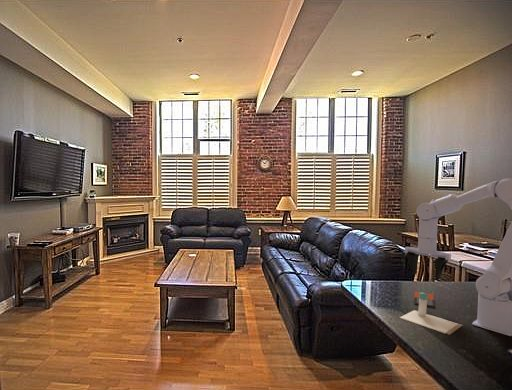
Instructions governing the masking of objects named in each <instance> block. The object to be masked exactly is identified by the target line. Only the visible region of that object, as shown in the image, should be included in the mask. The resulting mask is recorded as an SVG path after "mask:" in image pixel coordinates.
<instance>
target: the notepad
mask: <svg viewBox="0 0 512 390" xmlns="http://www.w3.org/2000/svg"><path fill="white" fill-rule="evenodd" d="M399 319H401V320H403V321H407V322H410V323H413V324H416V325H419V326H420V327H421V326H422V327H425V328H428V329H430V330H434V331H437V332H439V333H442V334H446V335H448V336H450V335H452V334H453V333H454V332H456V331H458V330H459V329H460V328H462V327H463V324H460V323H457V322H453V321H450V320H447V319H444V318H442V317H438V316H434V315H433V314H432V315H431V314H428V313H426V317H422V316H419V315H418V310H415V309H414V310H411V311H409V312H408V313H406V314H404V315H402V316H399Z"/></svg>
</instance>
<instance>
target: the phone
mask: <svg viewBox="0 0 512 390" xmlns="http://www.w3.org/2000/svg"><path fill="white" fill-rule="evenodd" d="M420 292H421V291H420ZM420 292H419V291H414V295H413V296H414V297H413V298H414V300H413V305H414V306H416V307H417V306H418V307H419V293H420ZM427 294H428V299H427V308H430V309H436V303H435V296H434V294H433V293H427Z"/></svg>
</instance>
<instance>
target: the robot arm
mask: <svg viewBox="0 0 512 390" xmlns="http://www.w3.org/2000/svg"><path fill="white" fill-rule="evenodd" d="M486 198H499V199H500V200H502V201H503V202H504V203H506V204H507V206H508V207H509V208H510V209H511V210H512V178H511V177H507V178H503V179H501V180H496V181H492V182H490V183H486V184H484V185H481V186H478V187H476V188H474V189H471V190H469V191H467V192H464V193H461V194H460V195H459V194H458V195H457V194H454V193H451V194H450V193H444V194H443V197H440V198H437V199H431V200H430V202H422V203H421V204H419V205H418V206H417V207H416V210H415V212H416V216H417V217H418V218H419V219H418V220H419V221H418V234H417V235H418V236H417V238H418V239H417V240H418V241H417V247H412V246H405V247H404V253H406V255H405V256H406V259H407V261H408V263H409V265H410V270H411V274H412V275H417V274H418V264H419V263H418V261H419V257H420V256H425V257H431V258H434V264H435V265H434V266H435V267H434V268H435V272H434V279H435V280H436V281H439V280H440V279H441V277H442V276H441V275H442V272H443V270H444V269H445V266H446V265H447V263H448V262H449V261H450V260H451V259H452V253H448V252H445V251H440V250H437V249H438V248H437V247H438V246H437V245H438V223H439V219H440V218H441V217H443V216H446V215H447V216H448V215H449V214H452V213H456V212H458V211H460V210H462V208H463V206H464V205H467V204H470V203H473V202H474V203H475V202H478V201H481V200H483V199H484V200H485V199H486ZM475 289H476V291H477V292H478V296H477V299H478V300H477V313H476V314H477V316H476V319H475V320H473V322H472V323H471V325H472V326H475V327H480V328H483V329H485V330H489V331H493V332H495V333H499V334H502V335H505V336H509V337H512V300H510V297H509V295H508V293H509V292H510V291H511V290H512V221H511V223H510V224H509V226H508V228H507V231H506V232H505V235H504V237H503V239H502V241H501V244H500V245H499V248H498V249H497V252H496V253H495V255H494V259H493V260H492V262H491V264H490V265H489V266H488V267H487V268H486V269H485V270H484V273H483V274H482V275H481V276H479V277H478V278H477V279H476V281H475Z"/></svg>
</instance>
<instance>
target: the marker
mask: <svg viewBox="0 0 512 390" xmlns="http://www.w3.org/2000/svg"><path fill="white" fill-rule="evenodd" d="M428 294H429V293H428V292H427V293H426V292H424V291H420V293H419V306H418V308H417V309H418V310H417V311H418V315H419V316H422V317H426V314H427V308H428V307H427V299H428Z"/></svg>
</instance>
